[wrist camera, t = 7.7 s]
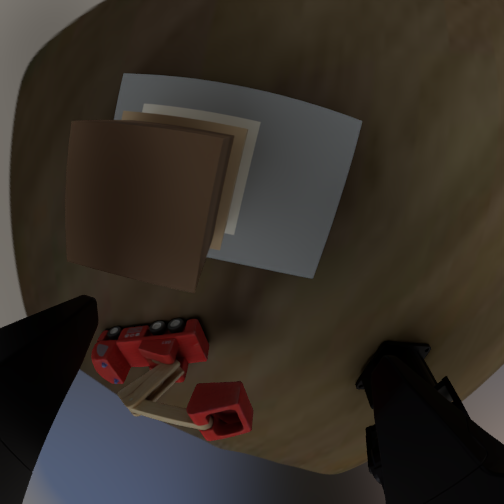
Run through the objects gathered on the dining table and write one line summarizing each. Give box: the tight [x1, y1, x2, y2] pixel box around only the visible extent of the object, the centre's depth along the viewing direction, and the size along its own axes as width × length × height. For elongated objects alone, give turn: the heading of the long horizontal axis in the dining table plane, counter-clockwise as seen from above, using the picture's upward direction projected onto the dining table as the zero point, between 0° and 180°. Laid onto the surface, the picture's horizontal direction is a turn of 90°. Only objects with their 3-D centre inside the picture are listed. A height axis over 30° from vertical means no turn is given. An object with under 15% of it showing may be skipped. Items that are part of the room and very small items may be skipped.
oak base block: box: [122, 111, 248, 250], centre depth 14 cm, size 6×6×4 cm
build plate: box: [114, 74, 362, 279], centre depth 17 cm, size 15×11×1 cm
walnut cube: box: [65, 120, 234, 293], centre depth 10 cm, size 5×5×5 cm
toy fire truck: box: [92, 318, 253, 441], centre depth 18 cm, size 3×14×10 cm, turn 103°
